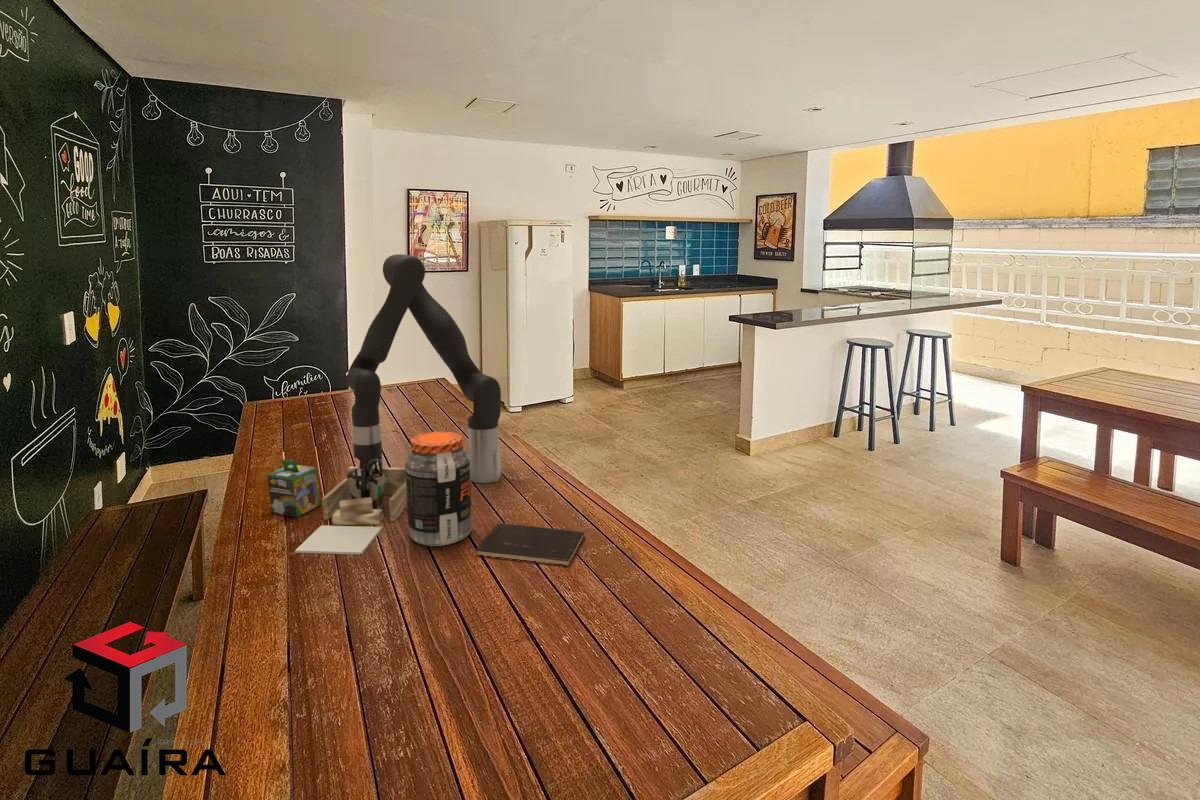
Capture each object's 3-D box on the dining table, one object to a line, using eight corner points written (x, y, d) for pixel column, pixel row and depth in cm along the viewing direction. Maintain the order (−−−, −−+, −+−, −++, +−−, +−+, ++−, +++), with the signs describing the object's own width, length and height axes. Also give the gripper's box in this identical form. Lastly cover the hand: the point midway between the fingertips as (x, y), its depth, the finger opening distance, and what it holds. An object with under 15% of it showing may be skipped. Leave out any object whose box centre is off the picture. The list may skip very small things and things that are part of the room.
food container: (397, 505, 185) (395, 472, 183) (381, 513, 180) (379, 479, 178) (364, 497, 191) (361, 465, 188) (348, 505, 185) (345, 471, 183)
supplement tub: (475, 544, 163) (472, 445, 157) (409, 552, 159) (403, 450, 152) (469, 518, 178) (465, 426, 171) (408, 525, 173) (402, 431, 167)
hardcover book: (568, 569, 153) (568, 560, 152) (475, 558, 157) (475, 549, 157) (584, 539, 168) (584, 530, 167) (499, 529, 172) (499, 521, 172)
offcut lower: (383, 519, 178) (382, 509, 177) (379, 525, 174) (378, 515, 173) (338, 520, 177) (337, 509, 176) (333, 526, 173) (332, 515, 172)
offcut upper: (372, 507, 178) (371, 496, 177) (372, 513, 174) (372, 502, 173) (340, 511, 175) (339, 500, 174) (340, 517, 171) (339, 506, 171)
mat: (382, 529, 171) (381, 527, 170) (361, 554, 157) (361, 552, 157) (321, 527, 171) (321, 525, 171) (295, 552, 157) (295, 550, 157)
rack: (416, 493, 194) (415, 468, 192) (394, 521, 175) (392, 493, 173) (352, 492, 194) (350, 466, 192) (323, 519, 176) (321, 491, 174)
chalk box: (321, 505, 185) (316, 455, 181) (297, 518, 176) (291, 466, 173) (295, 501, 188) (290, 451, 184) (270, 513, 179) (264, 462, 176)
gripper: (370, 448, 173) (374, 506, 177) (389, 432, 187) (392, 487, 191) (342, 447, 173) (347, 506, 177) (363, 431, 187) (367, 486, 191)
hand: (370, 496), depth 184 cm, fingers closed on food container, 6 cm apart
